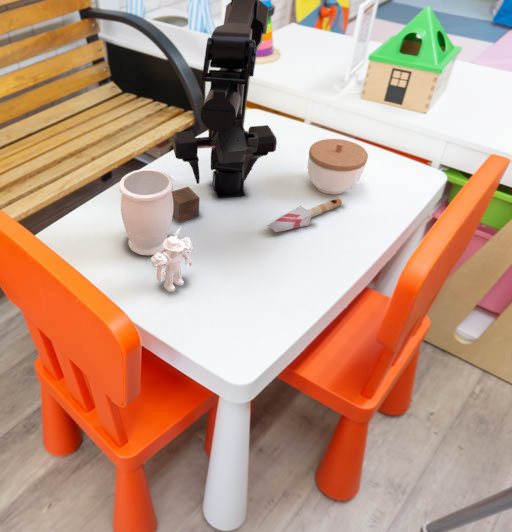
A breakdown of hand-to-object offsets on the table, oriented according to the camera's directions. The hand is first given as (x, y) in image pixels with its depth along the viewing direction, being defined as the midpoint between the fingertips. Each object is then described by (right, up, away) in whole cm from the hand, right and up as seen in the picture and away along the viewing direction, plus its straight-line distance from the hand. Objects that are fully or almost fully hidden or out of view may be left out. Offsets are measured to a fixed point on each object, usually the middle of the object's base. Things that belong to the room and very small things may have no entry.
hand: (220, 180), depth 104 cm
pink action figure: (-10, -20, -3) cm, 23 cm away
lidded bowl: (+29, +2, +21) cm, 36 cm away
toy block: (-6, -5, +14) cm, 16 cm away
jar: (-14, -12, +7) cm, 20 cm away
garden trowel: (+20, -7, +11) cm, 24 cm away
